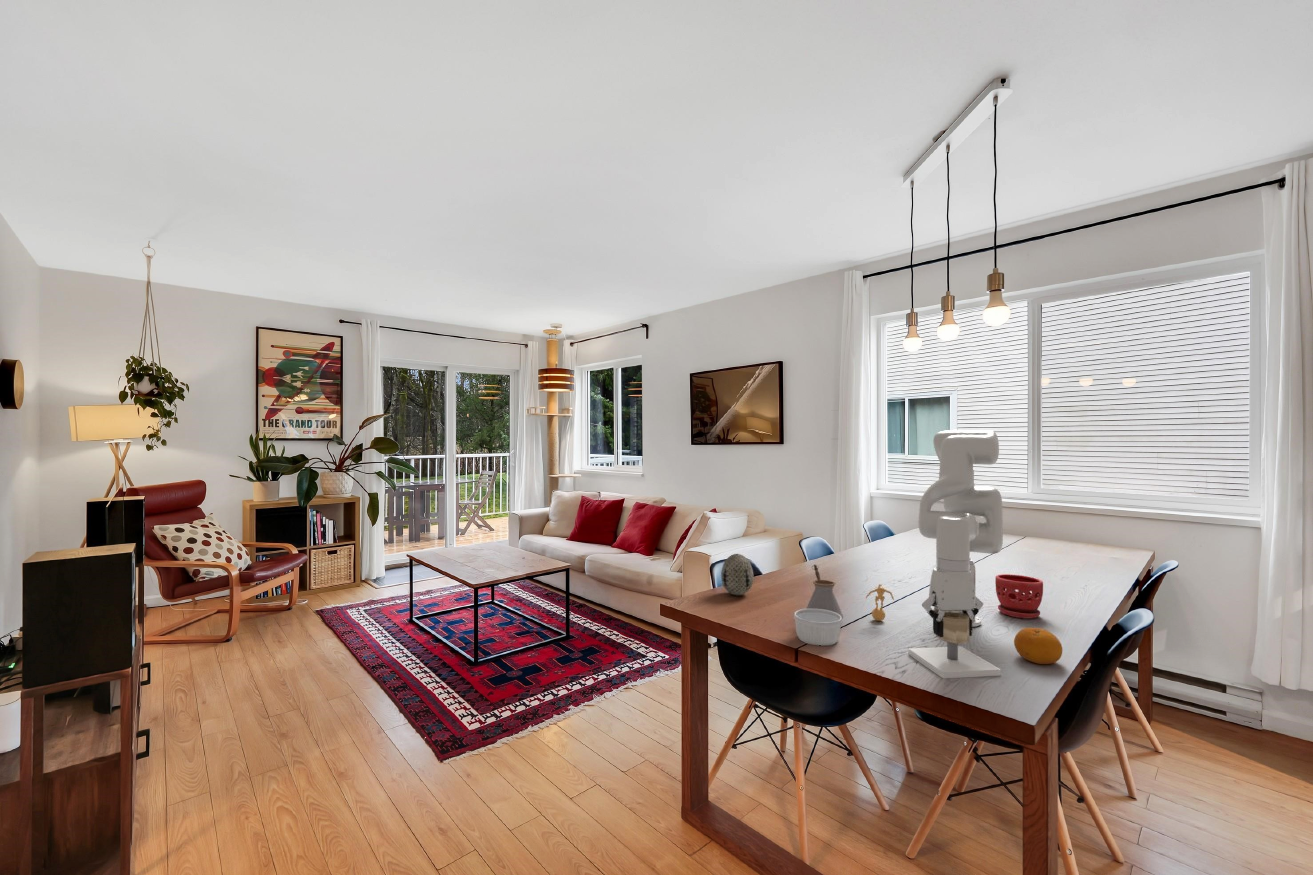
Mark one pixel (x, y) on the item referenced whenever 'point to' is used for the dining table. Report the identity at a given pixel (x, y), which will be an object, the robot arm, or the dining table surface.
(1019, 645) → the fruit
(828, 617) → the ramekin
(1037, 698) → the dining table surface
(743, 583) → the decorative egg
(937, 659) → the post board
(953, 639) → the bead
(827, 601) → the coffee pot
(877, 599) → the figurine
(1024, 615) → the plant pot
